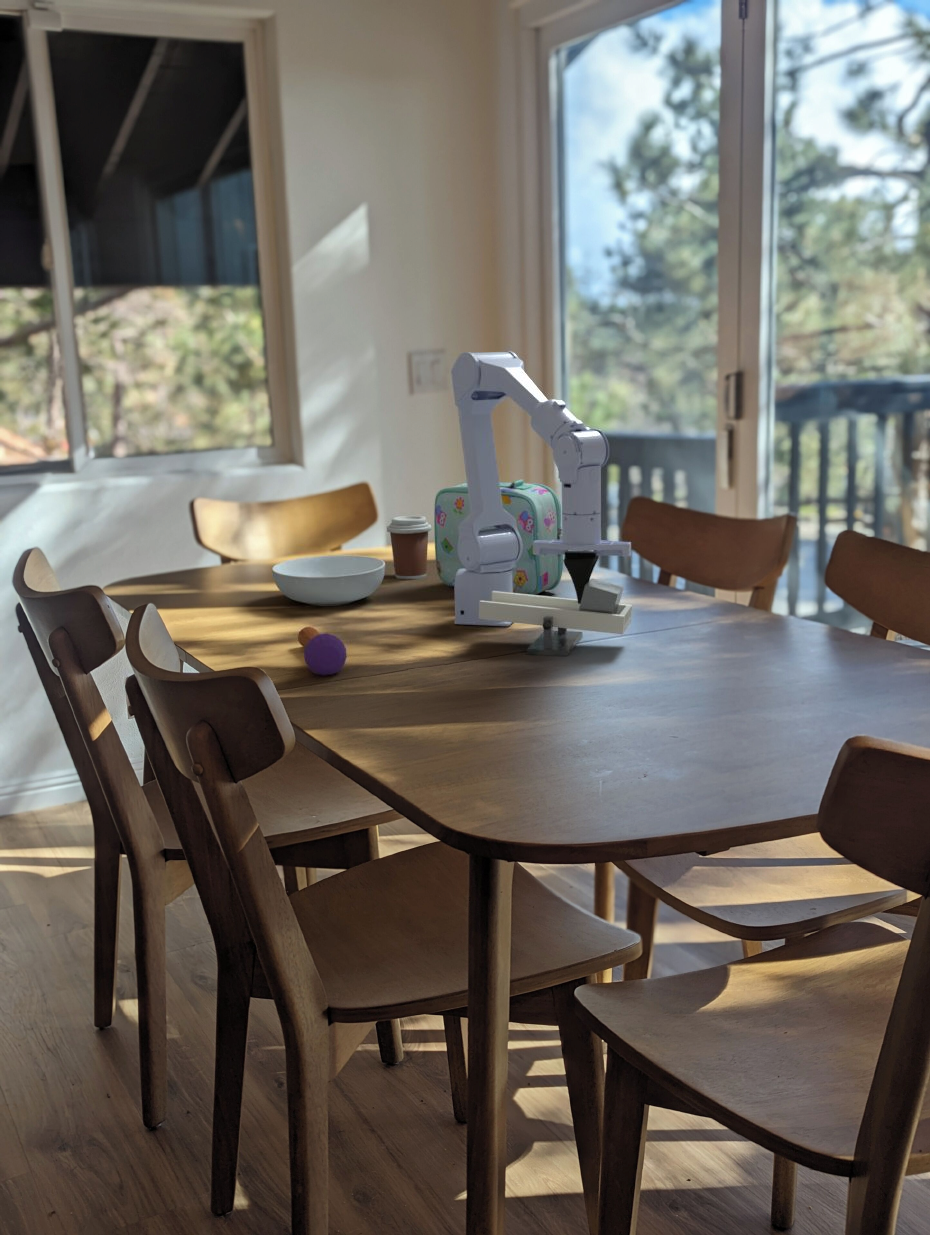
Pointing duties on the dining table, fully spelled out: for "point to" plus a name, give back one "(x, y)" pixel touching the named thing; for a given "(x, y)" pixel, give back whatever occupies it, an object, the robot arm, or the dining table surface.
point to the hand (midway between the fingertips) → (581, 602)
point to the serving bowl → (329, 578)
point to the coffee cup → (409, 546)
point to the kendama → (322, 651)
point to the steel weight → (601, 597)
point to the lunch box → (521, 500)
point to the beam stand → (554, 640)
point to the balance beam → (552, 612)
